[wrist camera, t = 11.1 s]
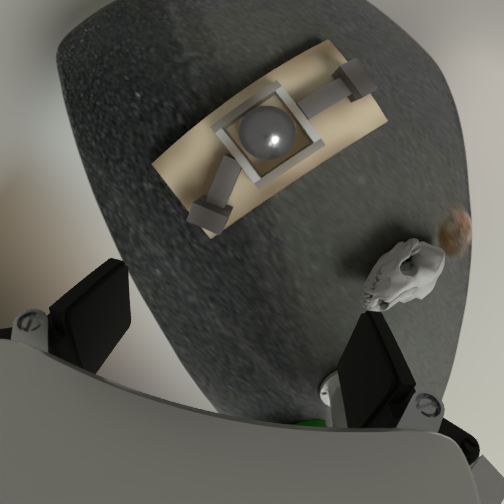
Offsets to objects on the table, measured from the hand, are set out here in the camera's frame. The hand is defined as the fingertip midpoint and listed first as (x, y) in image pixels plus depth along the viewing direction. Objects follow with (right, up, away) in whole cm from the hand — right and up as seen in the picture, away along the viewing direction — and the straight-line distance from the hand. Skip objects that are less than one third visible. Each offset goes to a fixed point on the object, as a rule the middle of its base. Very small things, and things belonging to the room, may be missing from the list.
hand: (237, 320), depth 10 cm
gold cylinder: (+2, +14, +16) cm, 22 cm away
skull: (+19, +1, +23) cm, 30 cm away
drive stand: (+2, +15, +18) cm, 24 cm away
